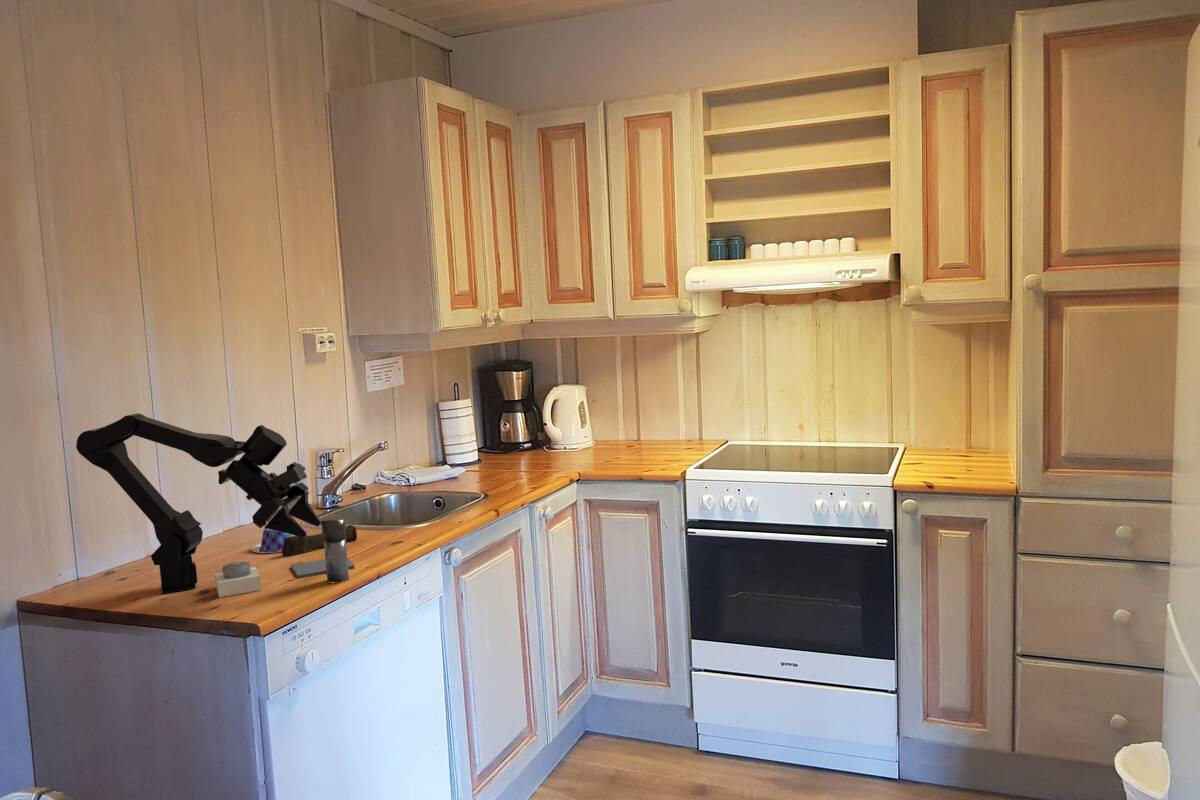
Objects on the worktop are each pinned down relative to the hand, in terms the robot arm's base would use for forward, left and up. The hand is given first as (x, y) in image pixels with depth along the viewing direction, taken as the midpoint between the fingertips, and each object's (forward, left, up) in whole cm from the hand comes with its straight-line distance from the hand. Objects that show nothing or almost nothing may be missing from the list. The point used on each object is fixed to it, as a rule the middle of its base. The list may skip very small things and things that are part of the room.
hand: (312, 530), depth 188 cm
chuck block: (-15, +5, -11) cm, 19 cm away
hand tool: (+6, +28, -11) cm, 31 cm away
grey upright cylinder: (+4, -2, -11) cm, 12 cm away
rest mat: (+3, +10, -11) cm, 15 cm away
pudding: (-3, +36, -11) cm, 38 cm away
